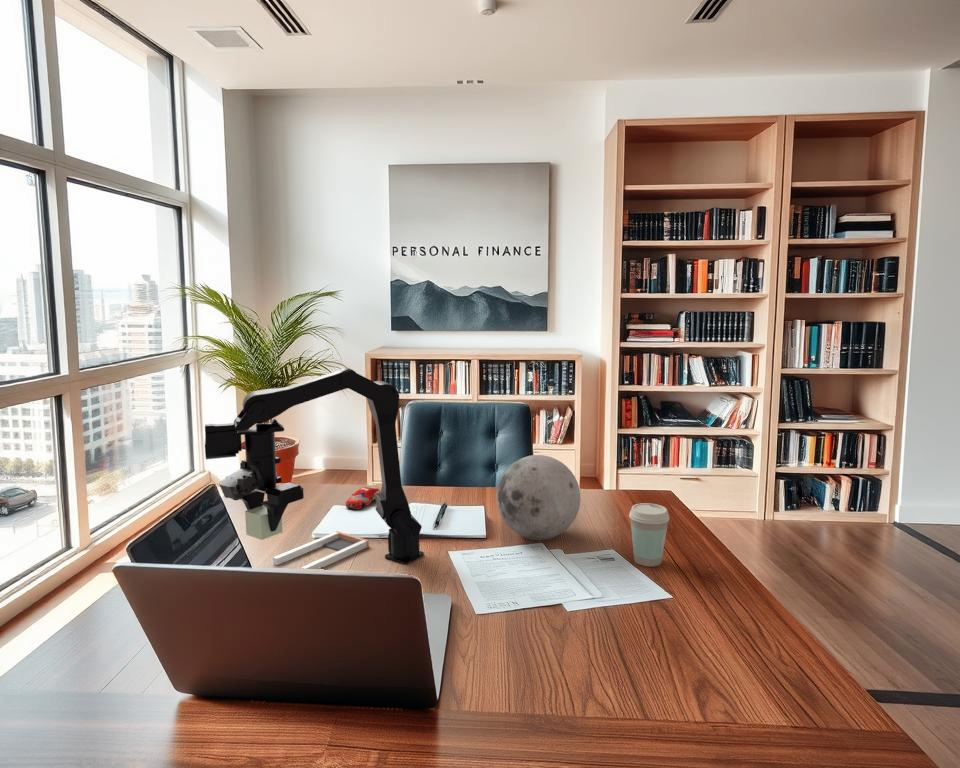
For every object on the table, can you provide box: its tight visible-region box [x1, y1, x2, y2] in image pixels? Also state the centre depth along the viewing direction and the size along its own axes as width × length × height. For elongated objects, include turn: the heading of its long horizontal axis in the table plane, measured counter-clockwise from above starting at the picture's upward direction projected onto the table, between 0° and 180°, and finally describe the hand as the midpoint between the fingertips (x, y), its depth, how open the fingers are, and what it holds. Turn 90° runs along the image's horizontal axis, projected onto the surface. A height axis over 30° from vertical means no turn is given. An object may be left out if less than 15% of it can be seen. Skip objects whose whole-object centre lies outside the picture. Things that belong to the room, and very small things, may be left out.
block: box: [244, 505, 283, 541], centre depth 131 cm, size 5×5×5 cm
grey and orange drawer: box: [322, 531, 370, 552], centre depth 150 cm, size 10×6×2 cm, turn 55°
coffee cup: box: [628, 502, 670, 567], centre depth 140 cm, size 8×8×12 cm
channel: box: [272, 531, 367, 570], centre depth 145 cm, size 10×18×2 cm, turn 145°
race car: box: [345, 486, 381, 510], centre depth 181 cm, size 13×5×4 cm, turn 158°
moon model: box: [496, 454, 581, 541], centre depth 154 cm, size 20×20×20 cm
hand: (264, 528), depth 131 cm, fingers closed on block, 5 cm apart
